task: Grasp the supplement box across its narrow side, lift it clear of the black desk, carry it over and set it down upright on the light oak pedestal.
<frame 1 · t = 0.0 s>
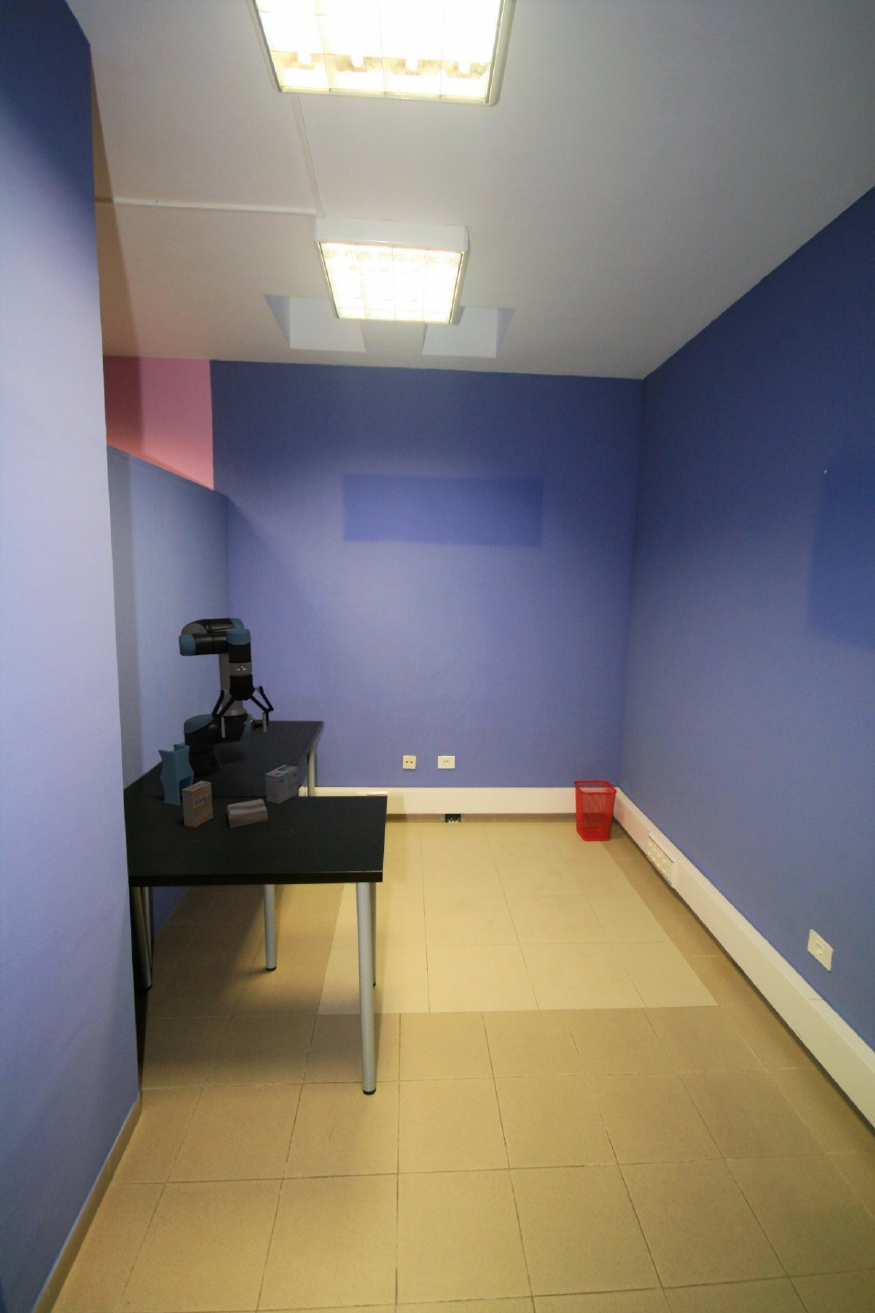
hand: (244, 733, 182), 28 cm above the table, fingers open, 13 cm apart
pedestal: (247, 817, 179), on the table
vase: (179, 800, 194), on the table
supplement box: (199, 822, 176), on the table
light bulb box: (282, 797, 196), on the table
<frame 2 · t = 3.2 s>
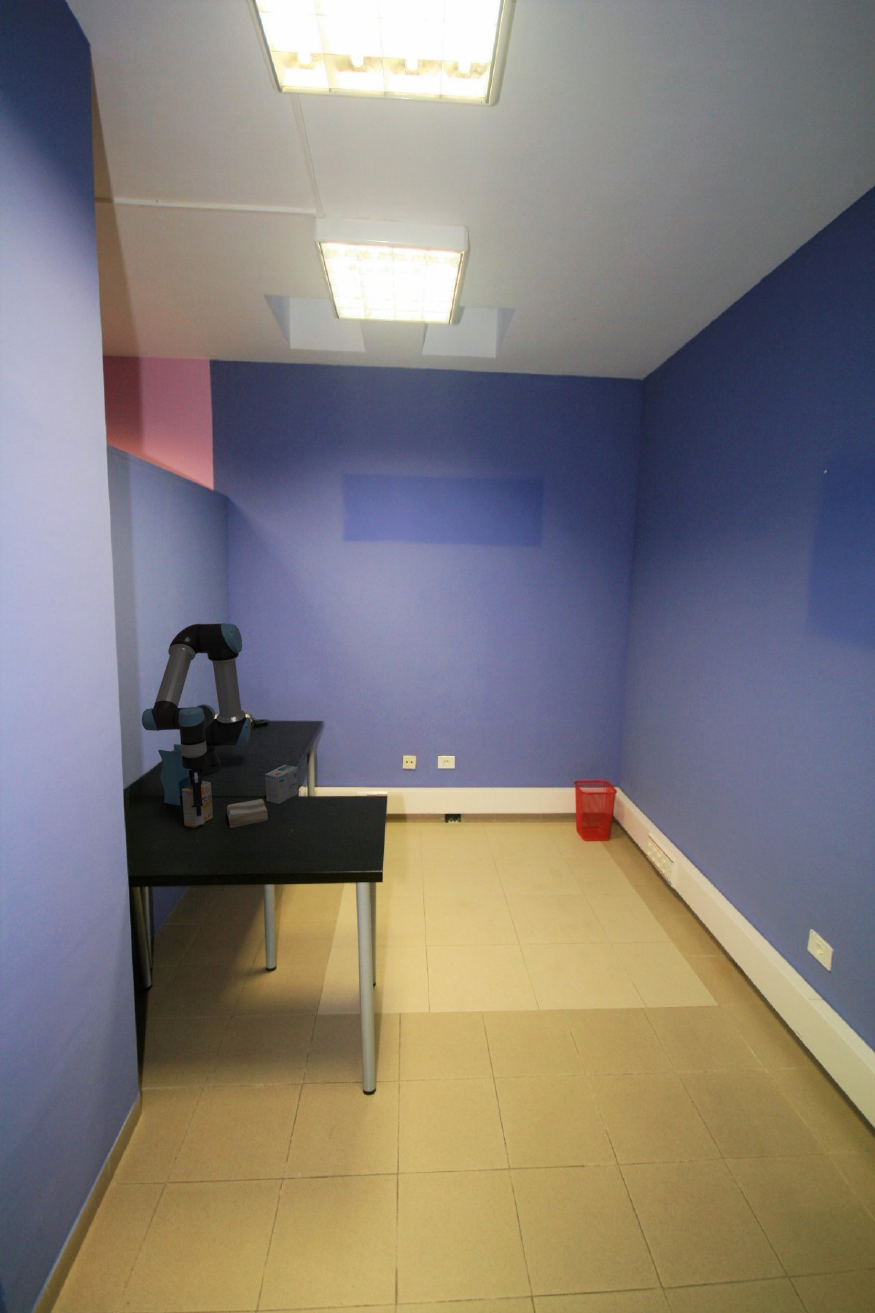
hand: (199, 818, 176), 1 cm above the table, fingers closed on supplement box, 9 cm apart
supplement box: (199, 822, 176), on the table, touching gripper
everything else where it was.
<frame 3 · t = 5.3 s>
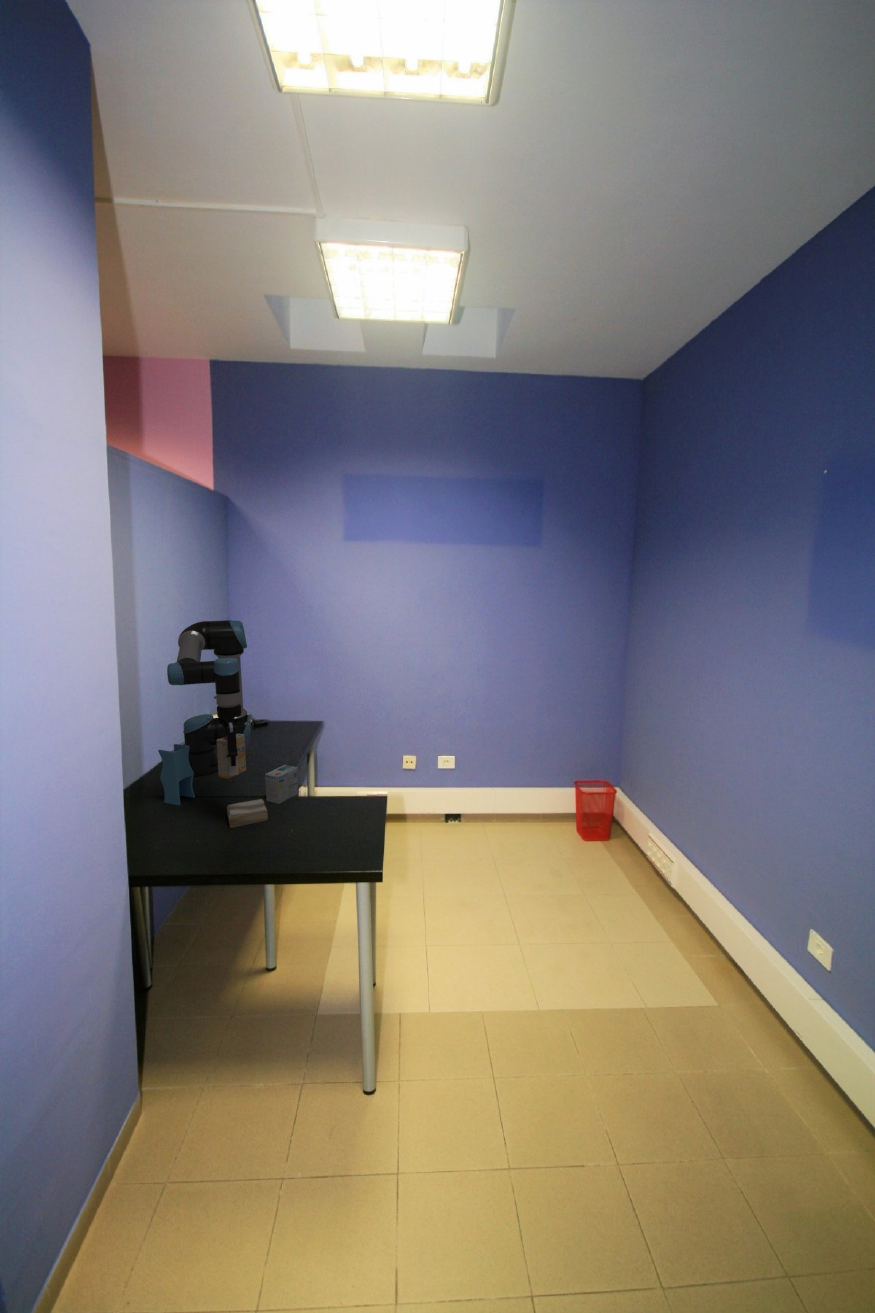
hand: (233, 770, 175), 18 cm above the table, fingers closed on supplement box, 9 cm apart
supplement box: (233, 774, 176), point 16 cm above the table, touching gripper
everything else where it was.
when the fingers open (7 cm above the table, at t = 7.7 s): supplement box drops 1 cm, resting on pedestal.
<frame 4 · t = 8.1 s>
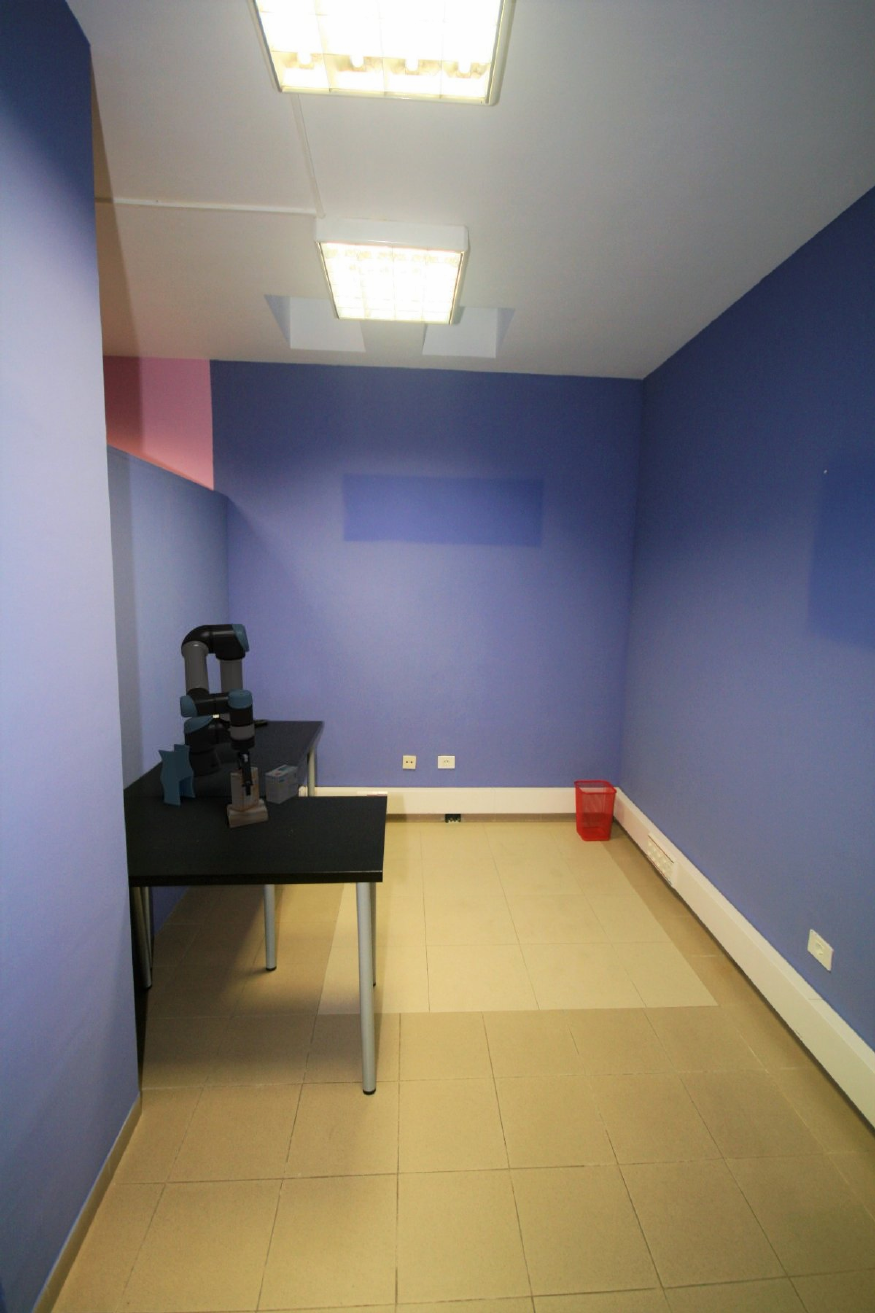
hand: (246, 796, 178), 8 cm above the table, fingers open, 13 cm apart
supplement box: (246, 807, 179), point 4 cm above the table, touching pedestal
everything else where it was.
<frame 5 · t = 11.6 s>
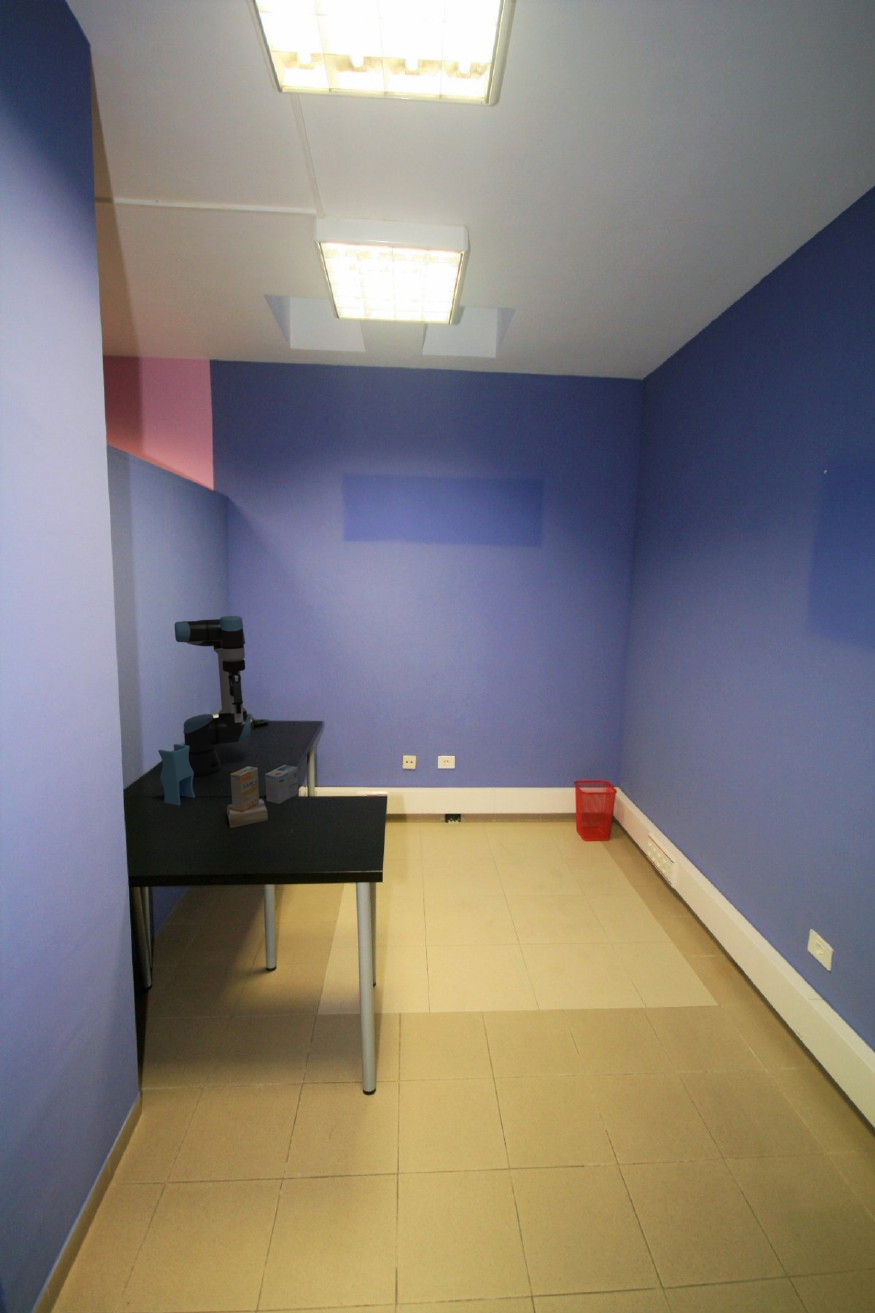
hand: (237, 717, 189), 32 cm above the table, fingers open, 13 cm apart
nothing on the table moved.
at the end: supplement box inside the target area on the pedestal (0.2 cm from its centre), point 3.8 cm above the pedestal's base; supplement box tilted 0°; the gripper is holding nothing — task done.
